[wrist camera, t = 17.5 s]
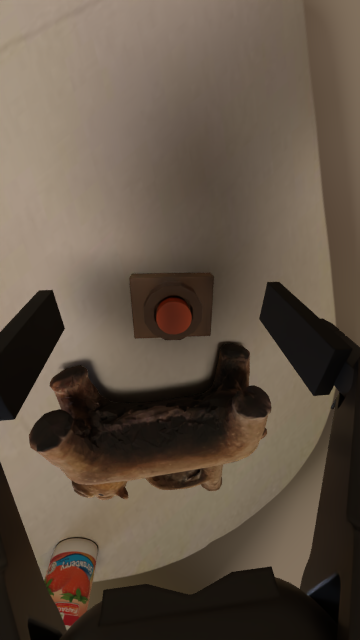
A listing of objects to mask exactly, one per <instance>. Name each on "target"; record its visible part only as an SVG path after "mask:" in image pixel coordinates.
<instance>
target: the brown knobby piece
mask: <svg viewBox="0 0 360 640" xmlns="http://www.w3.org/2000/svg"><path fill="white" fill-rule="evenodd" d="M249 358H250V353H249V351H248V350H247V349H245V348H244V347H243V346H239V345H235V344H223V346H222V347H221V348H220V356H219V360H218V365H217V370H216V375H215V380H214V383H213V385H212V386H211V388H210V389H209V390H207V391H206V392H204V393H203V394H196V395H194V396H188V397H181V398H175V399H169V400H162V401H155V402H144V403H116V402H111V401H109V400H107V399H105V398H104V397H102V396H101V395H100V394H99V392H98V390H97V389H96V387H95V386H94V385H93V384H92V382H91V381H90V379H89V378H88V371H87V369H86V368H85V367H83V366H81V365H79V366H74V367H70V368H66V369H65V370H63V371H62V372H60V373H59V374H57V375H56V376H54V377H53V378H52V380H51V382H50V386H51V388H52V389H53V390H54V392H55V394H56V397H57V399H58V402H59V405H60V407H61V410H60V409H59V410H56V411H51V412H49V413H46V414H44V415H43V416H42V417H41V418H40V419H39V420H38V421H37V422H36V423H35V425H34V427H33V428H32V430H31V432H30V434H29V441H30V446H31V448H32V449H34V450H35V451H37V452H38V453H39V454H41V455H42V456H43V457H45V458H46V459H47V460H48V461H49V462H51V463H52V464H53V465H55V466H57V467H59V468H60V469H61V470H62V471H63V472H64V473H65V474H66V476H67V477H68V478H69V479H71V480H72V486H73V488H74V491H75V492H76V493H78V494H79V495H80V496H83V497H87V498H91V497H94V496H96V497H97V498H98V499H101V500H107V499H111V498H112V497H113V496H114V495H118V496H120V497H121V498H123V499H128V492H127V490H126V488H125V486H126V483H127V481H129V480H135V479H141V478H146V480H147V481H148V482H149V483H150V484H151V485H153V486H155V487H157V488H159V489H162V490H173V489H185V488H191V487H194V486H197V485H200V484H201V485H202V487H203V488H205V489H207V490H208V491H216V490H218V489H219V488H220V487H221V485H222V477H221V475H222V467H223V464H226V463H231V462H236V461H239V460H241V459H243V458H245V457H248V456H249V455H250V454H252V453H253V452H254V451H255V449H256V448H257V447H258V444H259V441H260V439H262V438H264V437H265V436H266V434H267V429H266V428H265V425H266V421H267V417H268V414H269V413H270V412H271V402H270V399H269V396H268V395H267V394H266V392H264V391H263V390H262V389H261V388H259V387H257V386H249V373H250V368H249Z"/></svg>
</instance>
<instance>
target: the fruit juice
mask: <svg viewBox="0 0 360 640" xmlns="http://www.w3.org/2000/svg"><path fill="white" fill-rule="evenodd" d="M97 552H98V550H97V546H96V544H95V543H93V542H92V541H90V540H87V539H82V538H72V539H67V540H64V541H62V542H60V543H59V544H58V545H57V546H56V548H55V550H54V552H53V555H52V558H51V561H50V564H49V567H48V570H47V574H46V577H45V580H44V583H45V585H46V588H47V590H48V592H49V594H50V596H51V597H52V599H53V601H54V602H55V604H56V606H57V608H58V610H59V612H60V614H61V617H62V619H63V622H64V624H65V627H66V629H67V630H68V629H69V628H70V627H71V625H72V624H73V623H74V622H75V621H76V620H77V619H79V618H80V617H81V616H82V615H83V614H84V613H85V612H86V611H87V608H88V602H89V597H90V592H91V587H92V581H93V576H94V570H95V565H96V559H97Z"/></svg>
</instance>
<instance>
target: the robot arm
mask: <svg viewBox="0 0 360 640" xmlns="http://www.w3.org/2000/svg"><path fill="white" fill-rule="evenodd" d="M259 319H260V321H261V322H262V323H263V325H264V326H265V328H266V329H267V330H268V332H269V333H270V335H271V336H272V338H273V339H274V340H275V342H276V343H277V345H278V346H279V348H280V349H281V350H282V352H283V353H284V355H285V356H286V357H287V359H288V360H289V362H290V363H291V365H292V366H293V367H294V369H295V370H296V372H297V373H298V375H299V376H300V377H301V379H302V380H303V382H304V383H305V384H306V386H307V387H308V389H309V390H310V392H311V393H312V394H313V396H318V395H329V394H330V392H331V390H332V388H333V386H335V387H336V388H337V389H338V391H339V394H338V396H337V397H336V399H335V401H334V403H333V405H332V406H331V409H334V407H335V410H334V416H333V422H332V428H331V434H330V440H329V446H328V452H327V458H326V465H325V470H324V476H323V483H322V489H321V494H320V501H319V507H318V513H317V519H316V525H315V531H314V537H313V543H312V549H311V554H310V557H309V560H308V563H307V565H306V567H305V570H304V573H303V577H302V581H301V586H300V589H299V588H297V587H296V586H294V585H292V584H291V583H289V582H286V581H284V580H282V579H279V578H276V577H274V574H273V570H272V567H265V568H257V569H251V570H243V571H236V572H231V573H230V574H228V575H226V576H224V577H223V578H221V579H219V580H218V581H216V582H214V583H213V584H211V585H209V586H207V587H205V588H204V589H202V590H200V591H198V592H197V593H195V594H192V595H188V594H183V593H180V592H176V591H172V590H168V589H164V588H160V587H156V586H152V585H149V584H143V585H136V586H129V587H122V588H114V589H107V590H104V591H103V599H102V601H101V602H100V603H98V604H96V605H95V606H93V607H92V608H91V609H89V610H88V611H86V612H85V613H84V614H83V615H82V616H81V617H80V618H79V619H77V620H76V621H75V622H74V623H73V624H72V625H71V627H70V628H69V629H68V630H67V629H66V627H65V624H64V622H63V619H62V617H61V614H60V612H59V610H58V608H57V606H56V604H55V602H54V601H53V599H52V597H51V596H50V594H49V592H48V590H47V588H46V585H45V583H44V580H43V577H42V574H41V572H40V569H39V566H38V563H37V561H36V558H35V555H34V553H33V550H32V547H31V544H30V542H29V539H28V536H27V534H26V531H25V528H24V525H23V523H22V520H21V517H20V514H19V512H18V509H17V506H16V504H15V501H14V498H13V495H12V493H11V490H10V487H9V484H8V482H7V479H6V476H5V474H4V471H3V468H2V465H1V463H0V640H360V347H359V346H358V345H356V344H355V343H354V342H353V341H352V340H351V339H349V338H348V337H347V336H345V334H344V333H343V332H341V331H339V329H338V328H337V327H336V326H335V325H333V324H332V323H330V322H328V321H326V320H324V319H320V318H318V317H317V316H316V315H315V314H314V313H313V312H312V311H311V310H310V309H308V308H307V307H306V306H305V305H304V304H303V303H302V302H301V301H300V300H299V299H297V298H296V297H295V296H294V295H293V294H292V293H291V292H290V291H289V290H287V289H286V288H285V287H284V286H283V285H282V284H281V283H280V282H267V287H266V291H265V296H264V300H263V305H262V309H261V314H260V318H259ZM64 329H65V328H64V325H63V321H62V318H61V315H60V312H59V309H58V306H57V303H56V299H55V296H54V293H53V290H42V291H38V292H37V293H36V294H35V295H34V296H33V297H32V299H31V300H30V301H29V302H28V303H27V304H26V305H25V306H24V307H23V308H22V309H21V310H20V311H19V313H18V314H17V315H16V316H15V317H14V318H13V319H12V320H11V321H10V322H9V323H8V324H7V325H6V326H5V328H4V329H3V330H2V331H1V332H0V421H1V420H13V419H15V418H16V416H17V414H18V412H19V411H20V409H21V407H22V405H23V403H24V402H25V400H26V398H27V396H28V394H29V392H30V391H31V389H32V387H33V385H34V383H35V382H36V380H37V378H38V376H39V374H40V373H41V371H42V369H43V367H44V365H45V363H46V362H47V360H48V358H49V356H50V354H51V353H52V351H53V349H54V347H55V345H56V343H57V342H58V340H59V338H60V336H61V334H62V333H63V331H64Z"/></svg>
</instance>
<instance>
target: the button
mask: <svg viewBox="0 0 360 640" xmlns="http://www.w3.org/2000/svg"><path fill="white" fill-rule="evenodd" d="M191 320H192V315H191V312H190V309H189V306H188V304H187V303H186V302H185V301H184V300H182V299H180V298H177V297H170V298H167V299H165V300H163V301H162V302H161V303H160V304H159V306H158V308H157V311H156V321H157V324H158V326H159V328H160V329H161V330H162V331H164V332H165V333H168V334H179V333H182V332H184V331H185V330H186V329H187V328H188V327H189V326H190V324H191Z"/></svg>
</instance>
